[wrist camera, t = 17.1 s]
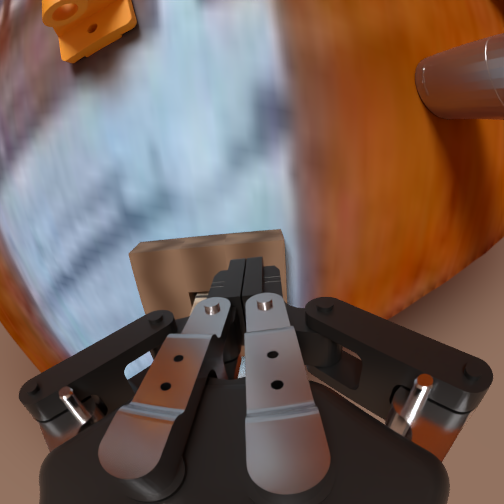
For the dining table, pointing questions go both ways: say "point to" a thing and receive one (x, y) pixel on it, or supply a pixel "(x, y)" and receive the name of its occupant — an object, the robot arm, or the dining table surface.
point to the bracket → (87, 24)
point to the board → (197, 266)
